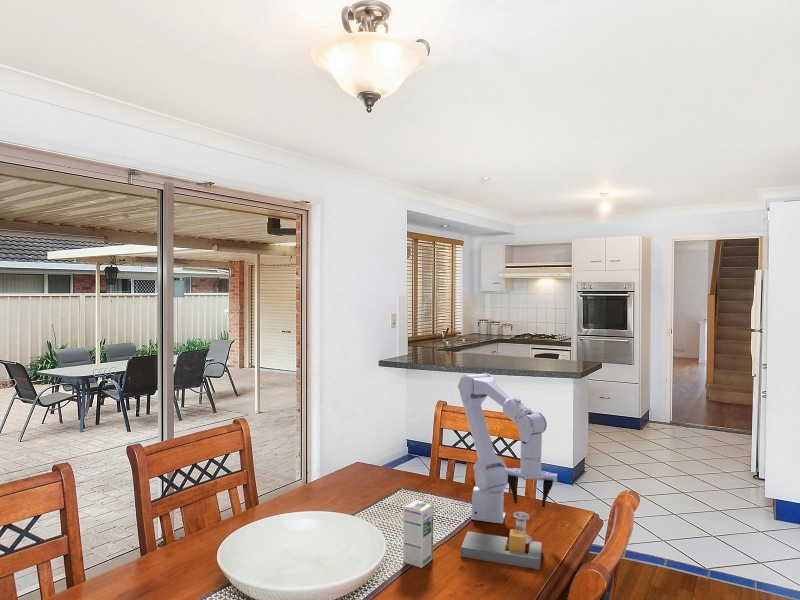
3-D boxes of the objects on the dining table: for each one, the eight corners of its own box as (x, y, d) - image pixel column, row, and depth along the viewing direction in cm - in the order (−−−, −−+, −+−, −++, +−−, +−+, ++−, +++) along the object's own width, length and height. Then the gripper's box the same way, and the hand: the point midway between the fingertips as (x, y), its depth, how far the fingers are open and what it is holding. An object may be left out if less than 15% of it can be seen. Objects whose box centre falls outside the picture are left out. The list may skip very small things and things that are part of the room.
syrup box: (422, 568, 141) (423, 511, 141) (402, 562, 144) (403, 505, 144) (433, 559, 146) (434, 503, 145) (413, 553, 149) (414, 498, 149)
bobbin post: (508, 543, 156) (509, 517, 156) (510, 534, 162) (511, 509, 162) (530, 546, 154) (531, 520, 154) (532, 537, 160) (532, 512, 160)
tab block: (508, 558, 148) (509, 535, 147) (509, 551, 151) (510, 529, 151) (524, 560, 147) (525, 537, 146) (525, 553, 150) (525, 531, 150)
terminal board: (460, 556, 148) (460, 547, 148) (467, 540, 157) (467, 531, 157) (539, 569, 142) (539, 559, 142) (541, 551, 151) (541, 542, 151)
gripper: (503, 457, 158) (501, 505, 158) (557, 463, 154) (555, 512, 154) (506, 450, 165) (504, 496, 165) (557, 456, 160) (556, 503, 161)
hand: (529, 504), depth 160 cm, fingers open, 7 cm apart
